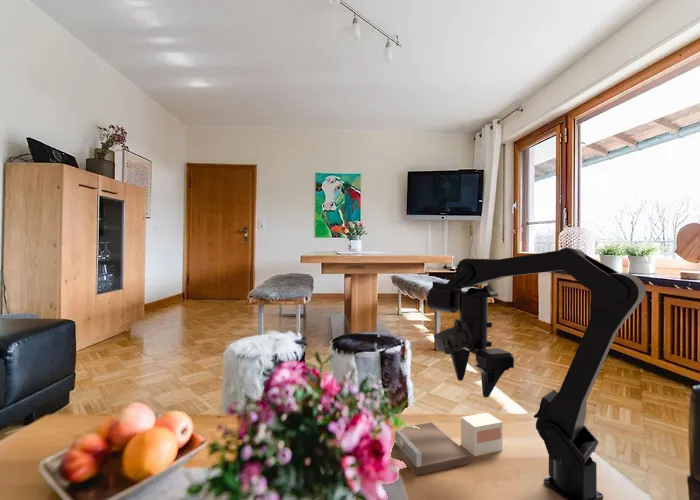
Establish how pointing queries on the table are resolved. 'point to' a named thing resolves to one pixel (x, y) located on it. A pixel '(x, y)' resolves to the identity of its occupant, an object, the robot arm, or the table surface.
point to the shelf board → (428, 449)
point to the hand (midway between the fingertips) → (472, 388)
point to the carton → (481, 434)
